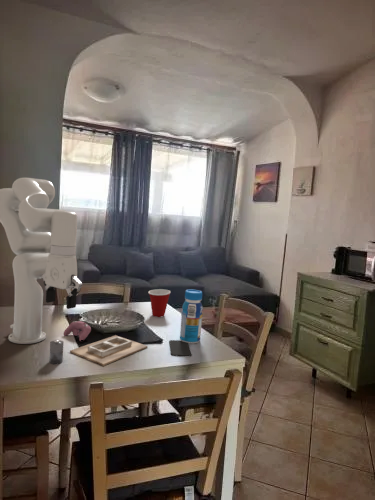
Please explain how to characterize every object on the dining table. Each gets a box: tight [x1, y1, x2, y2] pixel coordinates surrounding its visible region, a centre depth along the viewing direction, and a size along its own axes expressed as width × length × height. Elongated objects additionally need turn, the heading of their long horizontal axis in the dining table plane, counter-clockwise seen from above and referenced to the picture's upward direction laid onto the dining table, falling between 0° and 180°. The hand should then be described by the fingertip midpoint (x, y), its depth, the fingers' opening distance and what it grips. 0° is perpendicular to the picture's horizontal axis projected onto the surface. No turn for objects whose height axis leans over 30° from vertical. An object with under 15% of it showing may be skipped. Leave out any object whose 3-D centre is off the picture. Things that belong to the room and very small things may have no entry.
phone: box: [168, 339, 193, 357], centre depth 139 cm, size 7×1×15 cm
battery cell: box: [48, 339, 64, 365], centre depth 118 cm, size 4×4×7 cm
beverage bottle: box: [179, 288, 204, 344], centre depth 147 cm, size 8×8×20 cm
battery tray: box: [69, 334, 148, 367], centre depth 132 cm, size 16×22×2 cm
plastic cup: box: [148, 288, 171, 318], centre depth 179 cm, size 11×11×12 cm
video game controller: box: [63, 320, 92, 342], centre depth 142 cm, size 10×5×7 cm, turn 60°
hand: (60, 304), depth 117 cm, fingers open, 9 cm apart
